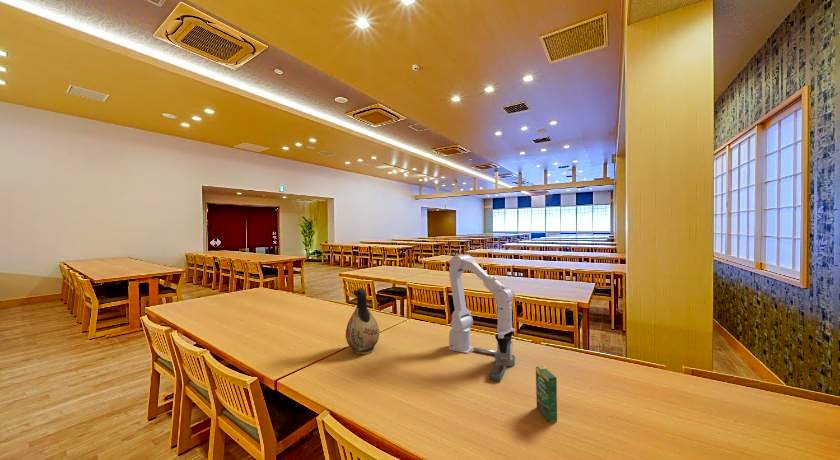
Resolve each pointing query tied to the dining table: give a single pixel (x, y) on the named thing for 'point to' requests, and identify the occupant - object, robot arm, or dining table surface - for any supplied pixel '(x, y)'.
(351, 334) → the ceramic jug
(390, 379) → the dining table surface
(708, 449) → the dining table surface
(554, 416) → the coffee box
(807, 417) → the dining table surface
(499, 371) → the ratchet
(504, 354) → the socket
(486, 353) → the bar
